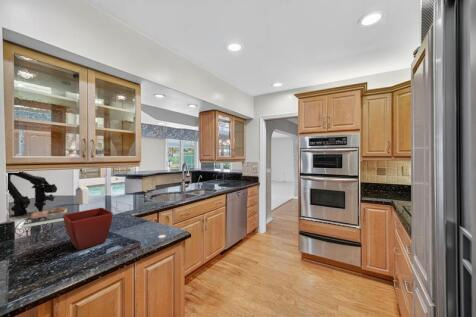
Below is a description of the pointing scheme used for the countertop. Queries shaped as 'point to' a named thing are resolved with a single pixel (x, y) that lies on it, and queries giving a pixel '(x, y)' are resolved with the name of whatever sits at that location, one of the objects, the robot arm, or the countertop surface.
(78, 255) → the countertop surface
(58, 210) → the walnut tile
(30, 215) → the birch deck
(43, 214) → the terracotta tile
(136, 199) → the countertop surface
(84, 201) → the milk carton
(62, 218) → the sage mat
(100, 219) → the plant pot
